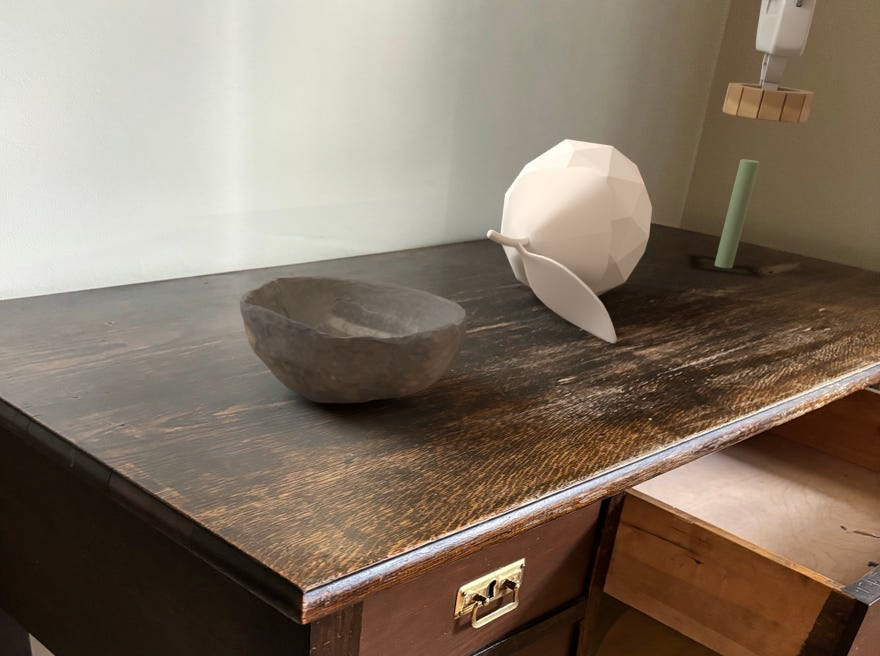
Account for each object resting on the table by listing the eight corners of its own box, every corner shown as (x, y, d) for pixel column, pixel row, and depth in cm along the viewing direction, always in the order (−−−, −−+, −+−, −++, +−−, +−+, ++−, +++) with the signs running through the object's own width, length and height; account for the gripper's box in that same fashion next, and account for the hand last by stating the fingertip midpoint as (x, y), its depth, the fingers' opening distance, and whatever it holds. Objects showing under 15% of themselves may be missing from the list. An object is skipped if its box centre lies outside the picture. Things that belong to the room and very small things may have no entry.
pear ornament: (604, 100, 109) (498, 111, 89) (732, 251, 110) (656, 298, 89) (511, 211, 120) (397, 244, 100) (627, 349, 121) (538, 410, 100)
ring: (800, 117, 120) (808, 89, 118) (811, 125, 112) (819, 95, 110) (720, 108, 121) (726, 80, 120) (725, 115, 113) (732, 86, 112)
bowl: (488, 388, 84) (501, 294, 80) (405, 454, 71) (414, 345, 66) (308, 347, 90) (310, 257, 85) (198, 401, 76) (195, 297, 72)
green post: (749, 271, 134) (778, 160, 126) (753, 284, 128) (785, 168, 120) (690, 264, 135) (716, 153, 127) (692, 276, 129) (720, 160, 121)
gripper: (843, -41, 103) (802, 106, 110) (816, -33, 119) (782, 95, 127) (782, -47, 103) (746, 100, 111) (763, -37, 120) (733, 90, 128)
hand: (765, 97), depth 119 cm, fingers closed on ring
